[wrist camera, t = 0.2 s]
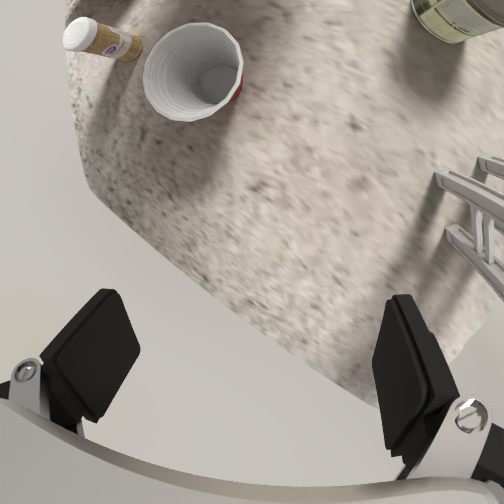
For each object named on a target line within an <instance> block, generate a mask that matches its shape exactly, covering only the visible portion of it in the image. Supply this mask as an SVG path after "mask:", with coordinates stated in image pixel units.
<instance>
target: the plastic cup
mask: <svg viewBox="0 0 504 504" xmlns="http://www.w3.org/2000/svg"><path fill="white" fill-rule="evenodd" d="M243 65H244V62H243V58H242V54H241V51H240V47H239V43H238V42H237V41H236V40H235V39H234V38H233V37H232V36H231V34H230V33H229V32H228V31H227V30H226V29H224V28H221V27H219V26H216V25H214V24H211V23H208V22H204V23H187V24H185V25H183V26H180V27H178V28H175V29H173V30H171V31H169V32H168V33H167V34H166V35H165V36H163V37H162V38H161V39H160V40H159V41H158V42H157V43H156V44H155V45H154V47H153V48H152V50H151V52H150V54H149V56H148V57H147V59H146V61H145V66H144V72H143V78H142V81H143V86H144V91H145V95H146V98H147V99H148V101H149V102H150V104H151V105H152V106H153V108H154V109H155V111H156V112H158V113H160V114H162V115H163V116H165V117H167V118H169V119H170V120H176V121H187V122H192V121H195V120H198V119H201V118H205V117H208V116H211V115H212V114H213V113H215V112H216V111H217V110H219V109H220V108H221V107H222V106H224V105H225V104H226V103H228V102H230V101H231V100H233V99H234V98H235V97H237V95H238V94H239V92H240V91H241V88H242V83H243V76H242V70H243Z"/></svg>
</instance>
